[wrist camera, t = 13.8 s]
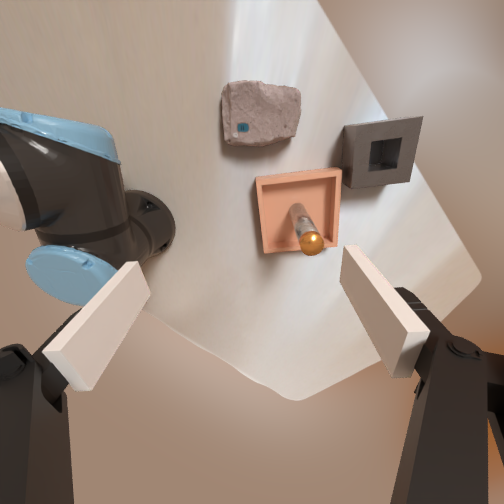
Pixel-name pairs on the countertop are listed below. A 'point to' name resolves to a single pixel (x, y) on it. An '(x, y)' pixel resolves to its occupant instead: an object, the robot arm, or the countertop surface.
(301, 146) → the countertop surface
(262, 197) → the tray
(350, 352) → the countertop surface
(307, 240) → the pin
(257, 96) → the decorative stone
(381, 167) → the block
